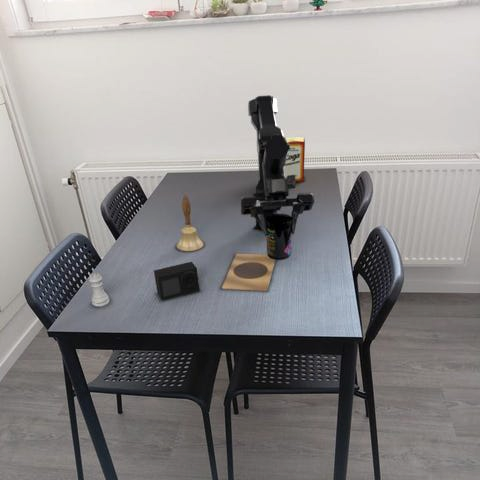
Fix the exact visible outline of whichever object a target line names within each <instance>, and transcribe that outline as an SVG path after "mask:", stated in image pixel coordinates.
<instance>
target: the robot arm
mask: <svg viewBox="0 0 480 480" xmlns="http://www.w3.org/2000/svg"><path fill="white" fill-rule="evenodd" d="M247 112H248V117H250V123H251V125H252V126H253V128H254V130H255V132H256V152H257V164H258V165H257V166H258V167H257V168H258V181H257V183H256V185H255V187H254V193H252V195H249V196H242V197H241V199H240V215H243V216H247V215H248V216H250V217H251V218H254V219H255V225H254V226H253V229H254V230H260V231H262V232H263V234H264V236H265V237H266V236H267V228H266V218H267V217H268V216H270V215H272V214H279V212H278V211H281V209H282V208H285V207H292V210H291V217H292V235H295V231H296V226H297V221H298V218H299V215H302V214H303V213H304V212H307V211H308V212H309V211H311V210H312V208H313V206H314V204H315V196H314V194H313V193H312V192H311V191H310V192H298V193H297V195H296V197H295V198H288V197H289V195H290V193H289V191H290V190H293V189H296V186H297V184H296V182H297V181H295V175H288V176H287V179H285V170H284V166H285V163H286V159H287V154H288V150H290V145H289V143H288V142H287V141H286V138H287V137H285V136H284V133H283V129H282V128H281V127H279V126H277V121H276V115H277V114H278V100H277V99H276V98H275V97H274V96H272V95H269V94H268V95H258V96H255V98H252V99H251V100H249V101H248V104H247Z"/></svg>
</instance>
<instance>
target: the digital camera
mask: <svg viewBox="0 0 480 480" xmlns="http://www.w3.org/2000/svg"><path fill="white" fill-rule="evenodd" d="M153 274H154V275H153V276H154V281H155V286H156V291H157V295H158V296H159V299H160V300H161V301H166V300H170V299H174V298H178V297H181V296H187V295H191V294H193V293H198V292H200V285H199V283H200V282H199V275H198V274H199V273H198V267H197V266H196V264H195V263H194V262H193V261H188V262H184V263H179V264H175V265H171V266H166V267H163V268H158V269H155V270H154V269H153Z"/></svg>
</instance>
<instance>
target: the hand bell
mask: <svg viewBox="0 0 480 480" xmlns="http://www.w3.org/2000/svg"><path fill="white" fill-rule="evenodd" d="M181 209H182V214H183V216H184V224H185V227H183V228H182V229H181V231H180V232H181V233H180V234H181V235H180V239H179V241H178V242H177V244H176V248H177V249H178V250H180V251H182V252H194V251H199V250H200V249H202V248H203V247H204V242H203V240H201V239H200V238H199V236H198V232H197V229H196V228H195V227H193V226H192V222H191V220H192V219H191V212H192V205H191V201H190V199H189V196H188V195H183V196H182V201H181Z"/></svg>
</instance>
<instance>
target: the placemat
mask: <svg viewBox="0 0 480 480" xmlns="http://www.w3.org/2000/svg"><path fill="white" fill-rule="evenodd" d="M275 262H276V260H274V259H271V258H269V257H268V255H267V254H257V253H256V254H253V253H252V254H251V253H236V254H235V256H234V258H233V260H232V263H231V266H230V267H229V270H228V273H227V274H226V277H225V278H224V281H223V283H222V286H221V289H223V290H242V291H257V292H258V291H259V292H268V289H269V287H270V282H271V278H272V274H273V271H274V266H275V264H276V263H275Z"/></svg>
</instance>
